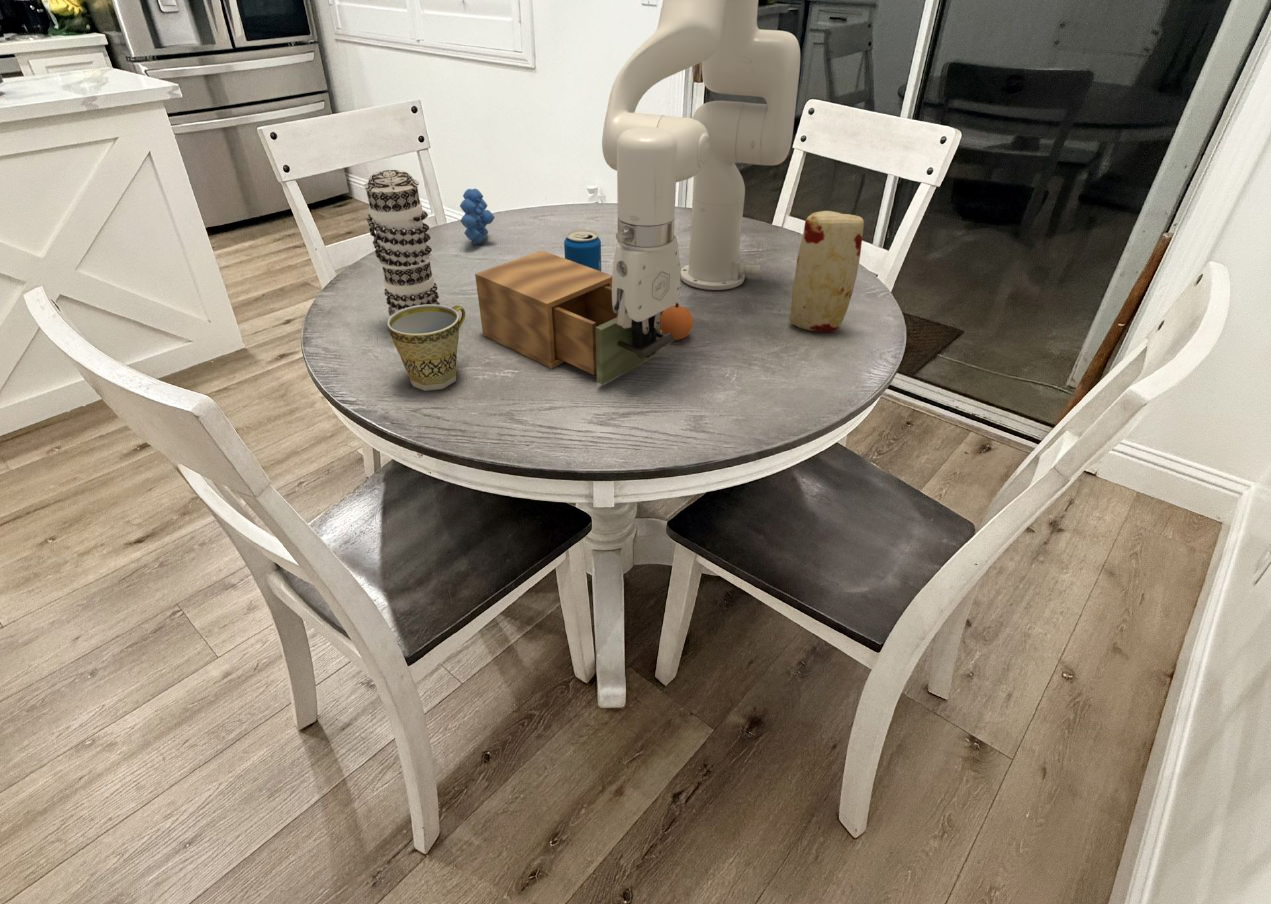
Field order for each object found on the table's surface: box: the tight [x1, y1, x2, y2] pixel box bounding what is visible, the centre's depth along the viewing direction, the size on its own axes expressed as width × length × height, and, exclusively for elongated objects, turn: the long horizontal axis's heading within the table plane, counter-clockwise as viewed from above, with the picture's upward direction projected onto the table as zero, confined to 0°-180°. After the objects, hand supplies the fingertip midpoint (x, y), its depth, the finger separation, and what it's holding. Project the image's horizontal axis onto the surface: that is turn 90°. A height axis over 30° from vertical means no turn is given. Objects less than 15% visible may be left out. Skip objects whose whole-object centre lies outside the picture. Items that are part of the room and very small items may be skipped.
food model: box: [788, 210, 865, 334], centre depth 115 cm, size 10×7×20 cm
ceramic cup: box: [386, 304, 466, 392], centre depth 104 cm, size 13×10×10 cm
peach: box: [660, 302, 694, 341], centre depth 116 cm, size 6×6×6 cm
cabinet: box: [474, 250, 613, 369], centre depth 115 cm, size 17×14×11 cm
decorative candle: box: [363, 169, 441, 317], centre depth 113 cm, size 9×9×25 cm
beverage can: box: [563, 229, 602, 272], centre depth 127 cm, size 6×6×12 cm
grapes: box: [459, 188, 496, 245], centre depth 149 cm, size 12×7×12 cm, turn 173°
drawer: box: [552, 285, 675, 386], centre depth 107 cm, size 21×13×9 cm, turn 49°
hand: (644, 352), depth 104 cm, fingers closed
